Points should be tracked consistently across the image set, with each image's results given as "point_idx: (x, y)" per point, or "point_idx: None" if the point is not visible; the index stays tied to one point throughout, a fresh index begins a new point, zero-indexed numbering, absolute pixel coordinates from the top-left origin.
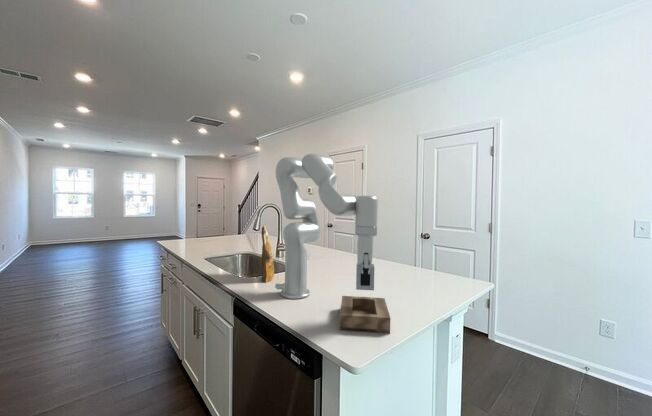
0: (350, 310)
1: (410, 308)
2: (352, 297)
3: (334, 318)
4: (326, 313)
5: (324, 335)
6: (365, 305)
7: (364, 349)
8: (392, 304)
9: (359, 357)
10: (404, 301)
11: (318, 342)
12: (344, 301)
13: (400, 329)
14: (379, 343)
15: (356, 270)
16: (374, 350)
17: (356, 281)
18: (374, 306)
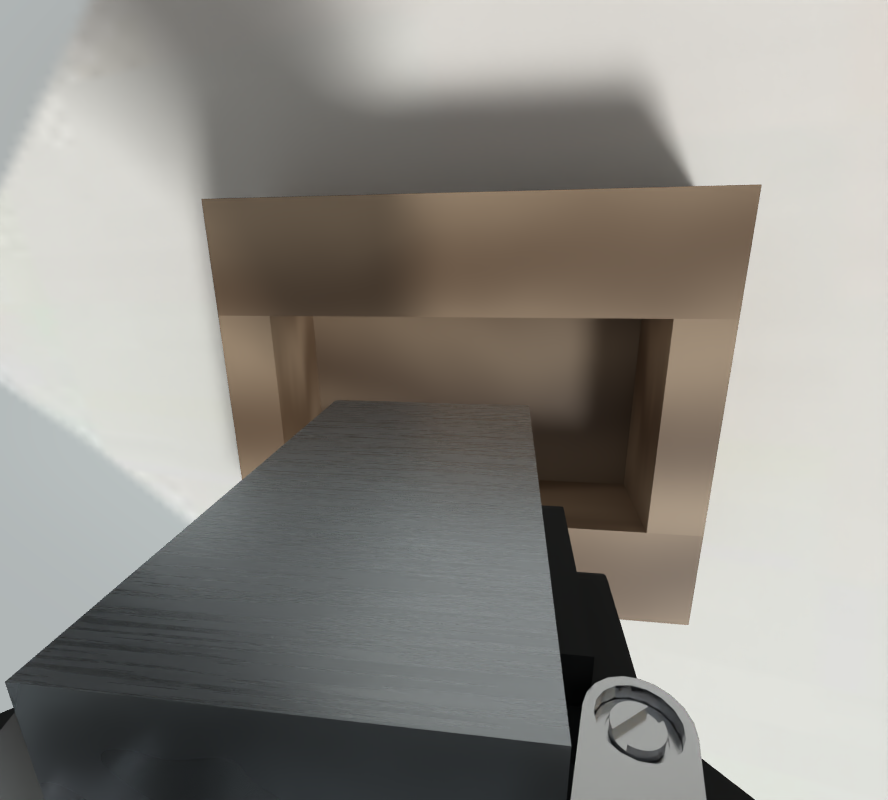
0: (322, 297)
1: (715, 725)
2: (697, 317)
3: (465, 146)
4: (568, 47)
5: (166, 100)
6: (639, 431)
7: (93, 371)
8: (803, 633)
9: (13, 342)
10: (870, 727)
11: (66, 71)
12: (557, 225)
13: None
14: (179, 456)
15: (405, 553)
16: (102, 422)
17: (283, 446)
18: (569, 506)
